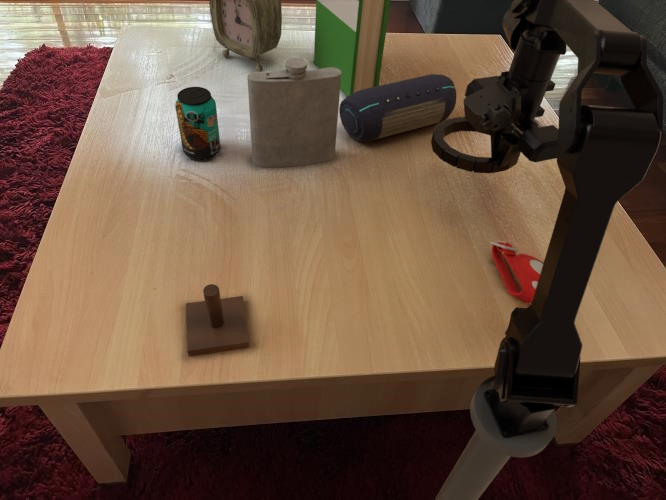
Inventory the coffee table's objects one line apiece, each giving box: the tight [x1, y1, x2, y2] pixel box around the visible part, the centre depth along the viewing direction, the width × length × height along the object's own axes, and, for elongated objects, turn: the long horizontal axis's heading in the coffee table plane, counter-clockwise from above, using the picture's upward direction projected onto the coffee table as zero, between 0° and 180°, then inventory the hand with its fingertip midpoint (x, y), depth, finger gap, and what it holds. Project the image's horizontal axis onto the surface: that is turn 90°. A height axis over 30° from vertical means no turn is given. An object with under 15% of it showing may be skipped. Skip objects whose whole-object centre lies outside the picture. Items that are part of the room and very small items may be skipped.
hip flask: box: [247, 56, 341, 168], centre depth 93 cm, size 16×4×20 cm, turn 103°
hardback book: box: [313, 0, 391, 97], centre depth 115 cm, size 18×7×24 cm, turn 28°
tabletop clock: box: [209, 0, 283, 72], centre depth 117 cm, size 14×9×25 cm, turn 53°
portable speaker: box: [338, 73, 457, 143], centre depth 106 cm, size 25×10×10 cm, turn 118°
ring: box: [430, 116, 522, 174], centre depth 88 cm, size 15×15×2 cm
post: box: [185, 283, 250, 357], centre depth 70 cm, size 8×8×8 cm
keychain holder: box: [489, 240, 544, 304], centre depth 81 cm, size 12×4×10 cm
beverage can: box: [174, 86, 221, 162], centre depth 96 cm, size 7×7×12 cm
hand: (497, 162), depth 84 cm, fingers closed on ring, 2 cm apart
